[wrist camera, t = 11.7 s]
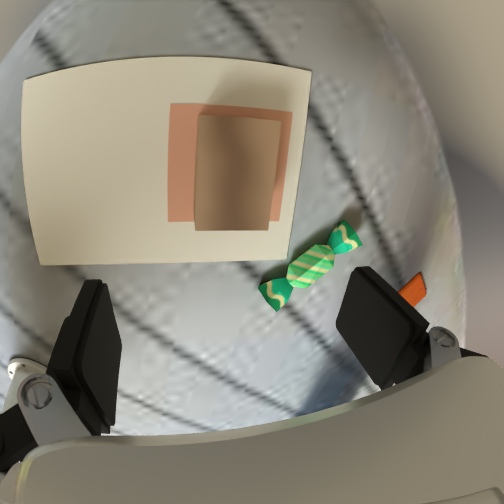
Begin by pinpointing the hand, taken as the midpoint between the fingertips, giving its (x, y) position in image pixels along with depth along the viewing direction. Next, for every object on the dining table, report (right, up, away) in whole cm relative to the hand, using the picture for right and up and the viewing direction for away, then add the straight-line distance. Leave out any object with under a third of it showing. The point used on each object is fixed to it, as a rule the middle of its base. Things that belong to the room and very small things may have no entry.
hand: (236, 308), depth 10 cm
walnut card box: (-2, +10, +14) cm, 17 cm away
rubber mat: (-8, +10, +13) cm, 18 cm away
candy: (+7, +1, +22) cm, 23 cm away
